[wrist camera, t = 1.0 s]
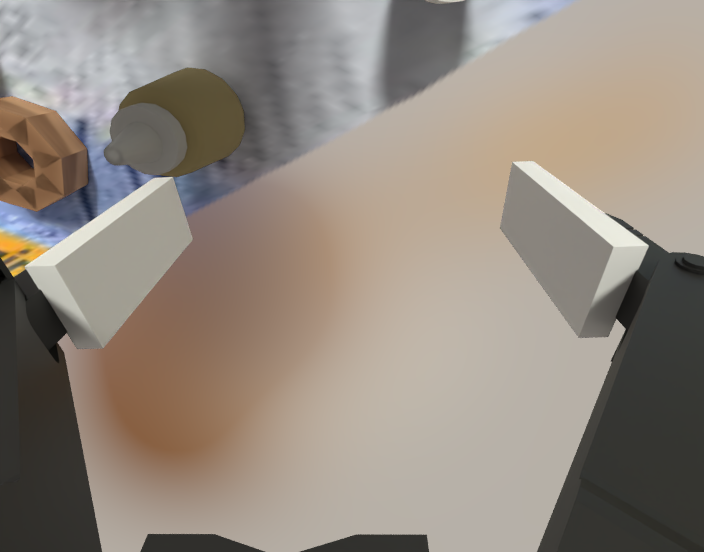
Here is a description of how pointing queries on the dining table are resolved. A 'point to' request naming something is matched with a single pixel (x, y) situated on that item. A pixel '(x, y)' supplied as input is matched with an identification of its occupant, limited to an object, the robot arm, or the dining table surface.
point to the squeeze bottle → (176, 124)
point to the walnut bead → (38, 155)
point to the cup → (442, 1)
